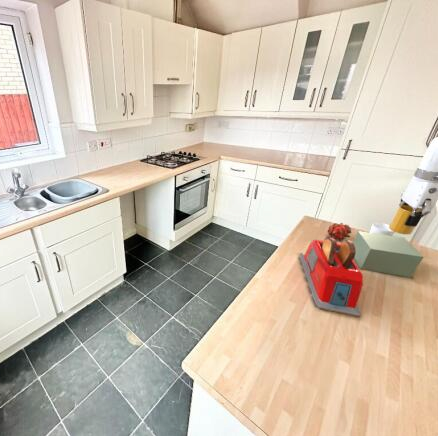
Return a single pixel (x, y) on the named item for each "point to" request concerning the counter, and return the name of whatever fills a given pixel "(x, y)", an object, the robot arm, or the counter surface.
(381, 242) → the shelf
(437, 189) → the robot arm
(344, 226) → the dragon fruit
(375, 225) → the white cup
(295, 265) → the counter surface
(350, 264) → the toaster
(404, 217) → the cup
